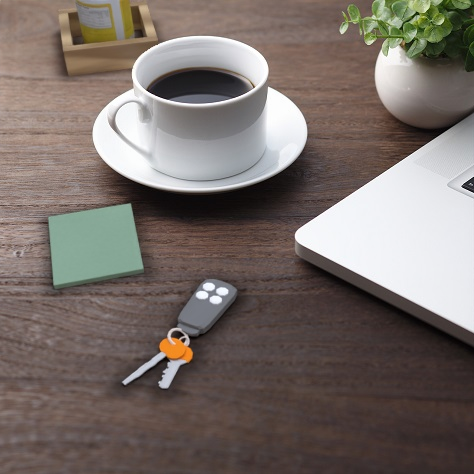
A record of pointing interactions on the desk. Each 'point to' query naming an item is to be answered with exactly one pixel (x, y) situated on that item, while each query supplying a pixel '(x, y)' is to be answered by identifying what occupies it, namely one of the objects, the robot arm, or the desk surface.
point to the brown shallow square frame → (105, 43)
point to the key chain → (191, 327)
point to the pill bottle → (105, 20)
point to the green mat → (94, 246)
